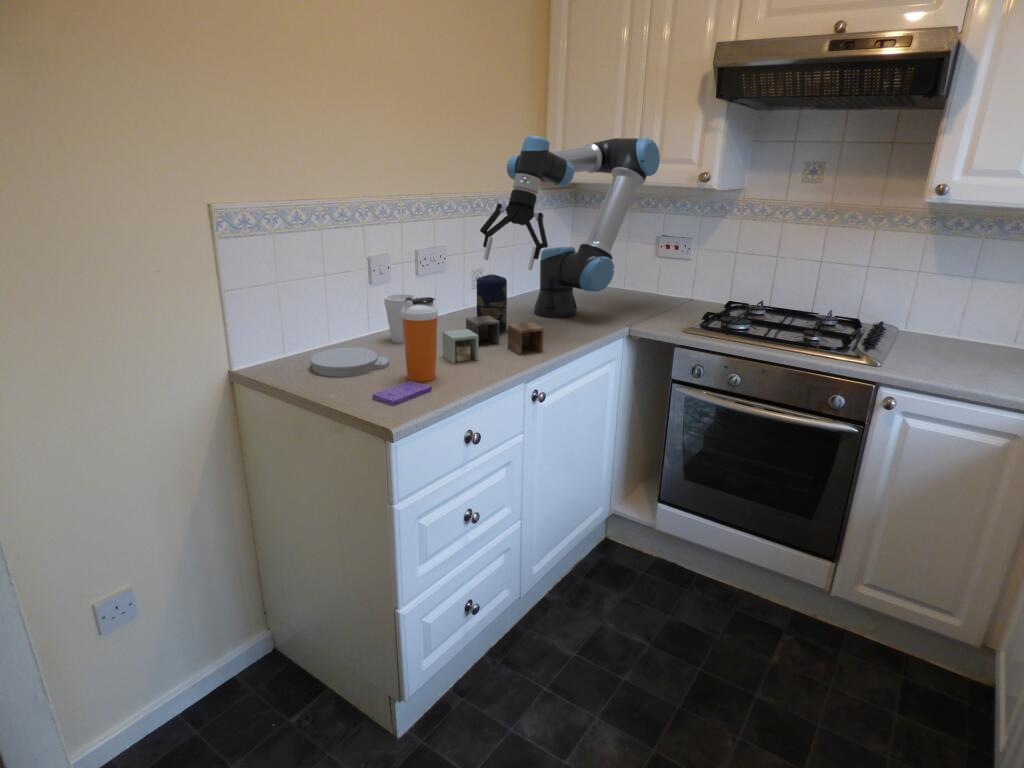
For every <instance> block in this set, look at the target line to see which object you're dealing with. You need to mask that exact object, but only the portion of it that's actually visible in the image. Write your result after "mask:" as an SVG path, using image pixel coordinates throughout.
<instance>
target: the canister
mask: <svg viewBox="0 0 1024 768" xmlns="http://www.w3.org/2000/svg"><path fill="white" fill-rule="evenodd" d="M507 282H508V281H507V278H506V277H504V276H500V275H496V274H493V273H491V274H486V275H483V276H480V277H478V278H477V280H476V317H479V316H491V317H493V318H495V319H497V320H498V321H500V333H501V332H504V331H506V329H507V326H508V323H507V320H508V318H507V307H508V306H507V305H508V285H507V284H508V283H507Z"/></svg>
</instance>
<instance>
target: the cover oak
mask: <svg viewBox="0 0 1024 768" xmlns="http://www.w3.org/2000/svg"><path fill="white" fill-rule="evenodd" d="M465 329H469V330H470V331H472V332H474V333H475V334H477V335H479V340H489V341H491V342H492V343H494V344H496V345H500V338H501V337H500V336H501V335H500V333H501V332H500V321H498V320H497V319H495V318H493V317H491V316H479V317H477V316H470V317H465Z"/></svg>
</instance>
